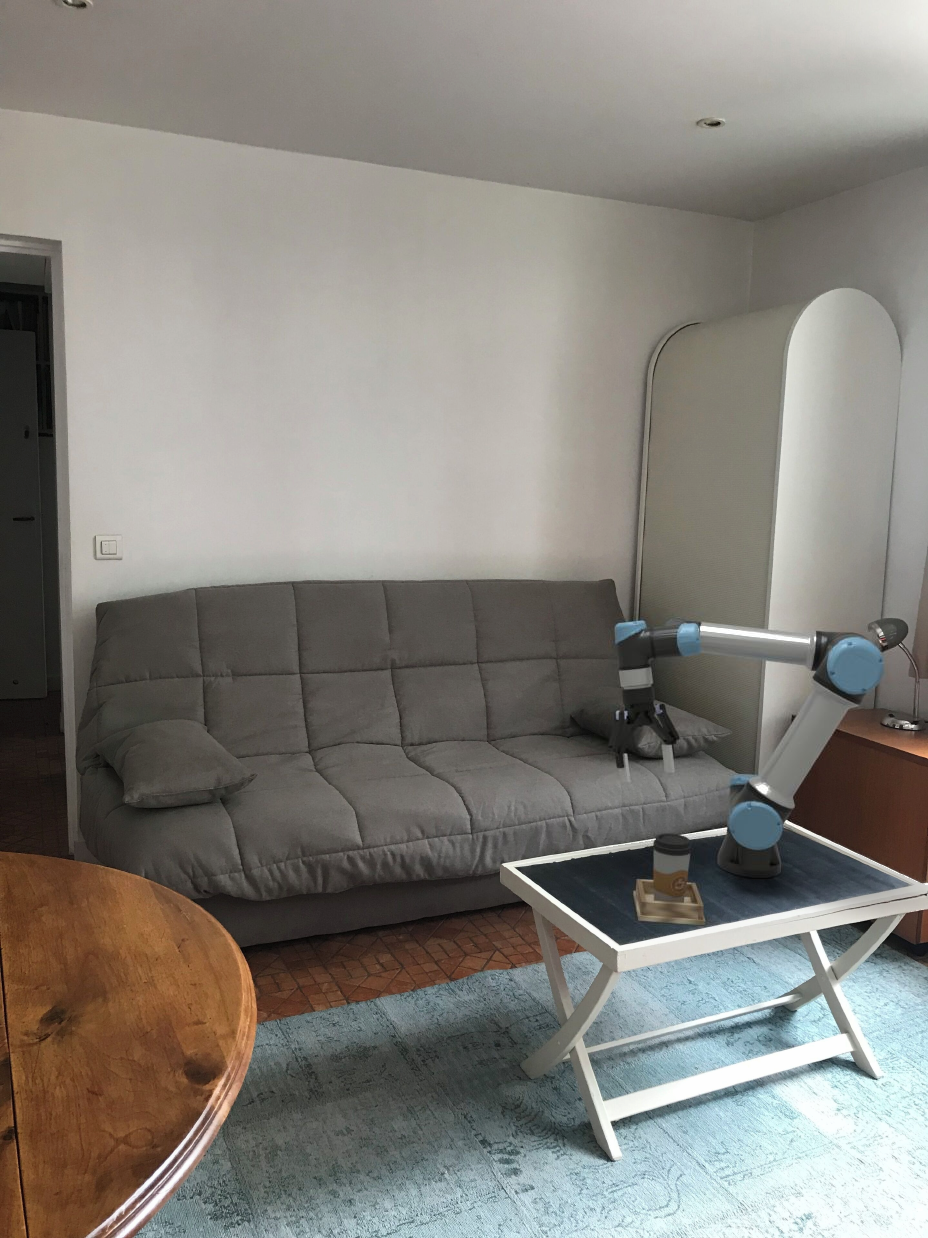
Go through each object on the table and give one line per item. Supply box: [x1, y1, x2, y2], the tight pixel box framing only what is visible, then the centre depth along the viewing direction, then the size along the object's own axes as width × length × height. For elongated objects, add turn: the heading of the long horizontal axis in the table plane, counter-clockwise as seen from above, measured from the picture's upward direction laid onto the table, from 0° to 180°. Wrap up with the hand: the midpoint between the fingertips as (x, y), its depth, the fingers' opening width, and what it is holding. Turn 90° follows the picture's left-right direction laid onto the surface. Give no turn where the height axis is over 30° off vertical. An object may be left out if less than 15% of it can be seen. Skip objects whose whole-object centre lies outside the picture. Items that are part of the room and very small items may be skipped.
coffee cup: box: [652, 832, 693, 903], centre depth 217 cm, size 8×8×15 cm
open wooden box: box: [632, 878, 706, 926], centre depth 218 cm, size 14×14×4 cm
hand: (648, 777), depth 233 cm, fingers open, 13 cm apart
